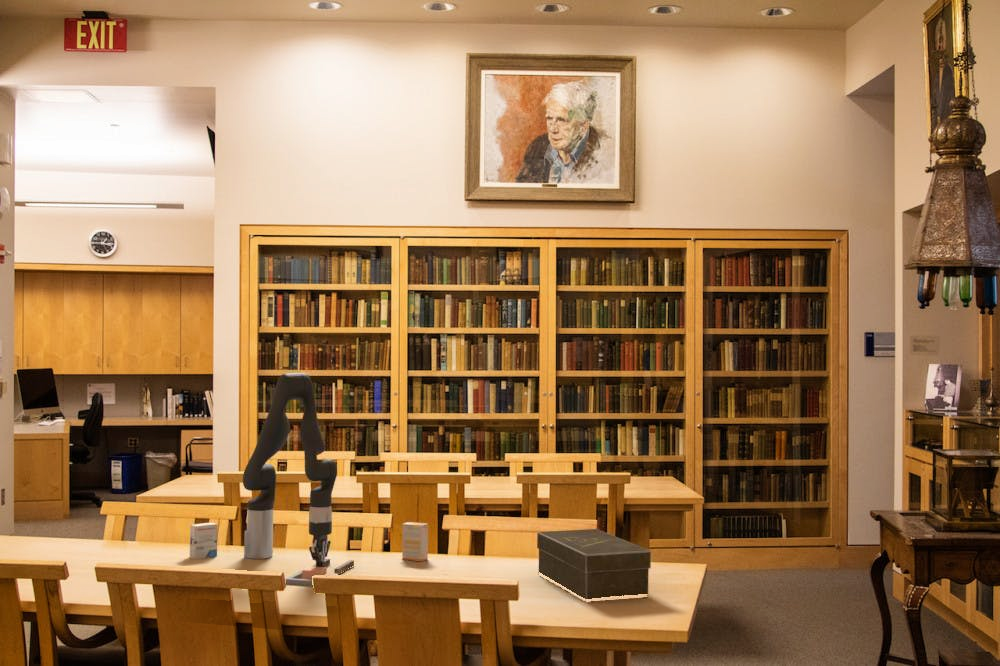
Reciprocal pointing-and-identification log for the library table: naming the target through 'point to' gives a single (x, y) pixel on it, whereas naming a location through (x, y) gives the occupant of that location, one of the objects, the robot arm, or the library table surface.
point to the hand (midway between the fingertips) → (319, 571)
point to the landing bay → (296, 579)
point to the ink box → (203, 540)
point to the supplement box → (415, 541)
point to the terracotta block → (313, 572)
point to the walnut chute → (341, 567)
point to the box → (594, 563)
